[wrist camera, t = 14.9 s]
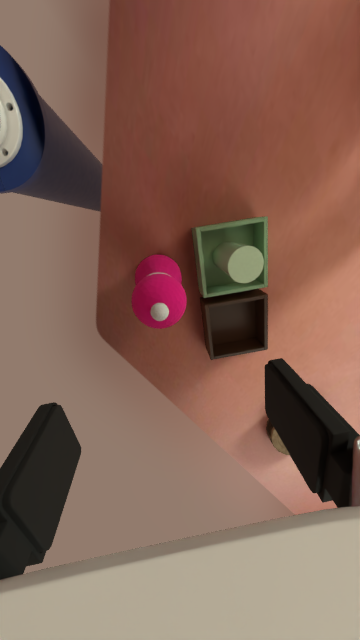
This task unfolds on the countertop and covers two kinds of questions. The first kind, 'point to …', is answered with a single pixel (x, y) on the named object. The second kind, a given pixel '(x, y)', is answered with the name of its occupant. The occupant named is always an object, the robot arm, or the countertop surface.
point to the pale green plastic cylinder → (238, 261)
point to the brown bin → (235, 323)
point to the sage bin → (235, 231)
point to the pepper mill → (158, 292)
